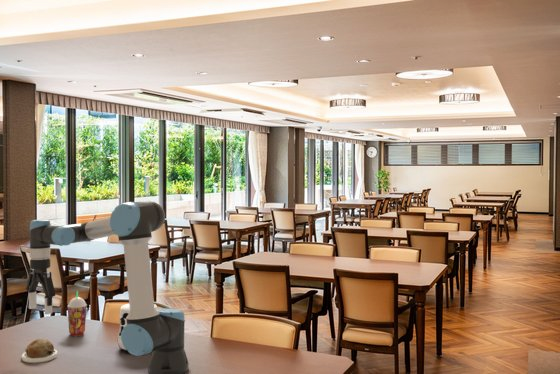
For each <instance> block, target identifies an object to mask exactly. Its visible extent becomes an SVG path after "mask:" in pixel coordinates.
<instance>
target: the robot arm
mask: <svg viewBox="0 0 560 374" xmlns="http://www.w3.org/2000/svg"><path fill="white" fill-rule="evenodd" d="M165 220H166V213H165V210H164V208H163V207H162V206H161V205H160V204H159V203H158V202H156V201H151V200H147V201H128V202H123V203H120V204H118V205H116V207H115V208H114V209H113V210H112V212H111V213H110V216H107V217H104V218H99V219H95V220H91V221H87V222H82V223H74V224H73V223H72V224H63V225H62V224H61V225H51V221H50V220H49V219H33V220H31V221H30V223H29V231H28V232H29V258H30V259H29V273H28V279H27V284H26V286H25V287H26V288H25V290H26V291H27V292H28V309H29V310H31V309H32V310H33V309H37V307H38V306H37V292H38V291H37V288H38V285H39V284H40V285H41V287H42V289H43V292H44V297H43V298H44V315H50V314H51V315H52V314H53V298H54V297H56V290H55V286H54V283H53V282H54V281H53V278H52V271H48V269H50V268H51V258H50V257H51V251H52V249H51V245H53V246H61V247H62V246H69V245H71V244H75V243H84V242H91V241H94V240H97V239H98V240H99V239H102V238H107V237H111V236H115V235H116V236H117V238H118V242H119V243H120V244H121V245H122V246H123V252H124V254H123V255H124V263H125V272H126V273H125V274H126V284H127V294H128V295H127V296H128V304H129V305H130V313H129V314H128V316H127V317H126V320H127V325H126V326H125V327H124V328H123V330H122V332H121V340H122V343H123V346H124V347H125V349H126V350H128V351H127V352H128V353H129V354H131V355H134V356H135V357H136V356H137V357H139V356H143V355H149V354H150V353H151V357H150V359H149V362H148V365H147V372H148V373H149V374H185V373H187V372H188V371H189V369H190V368H189V359H188V357H187V353H186V350H185V322H186V320H185V312H183V311H182V310H181V309H176V308H157V309H155V308H154V304H155V300H154V289H153V280H152V279H153V278H152V269H151V259H150V258H151V257H150V250H149V249H150V248H149V242H150V240H152V238H153V237H152V236H153V235H152V233H153V232H156V231H158V230H159V229H161V228H162V226H163V225H164V223H165Z"/></svg>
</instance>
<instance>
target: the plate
mask: <svg viewBox="0 0 560 374" xmlns="http://www.w3.org/2000/svg"><path fill="white" fill-rule="evenodd" d="M26 354H27V353H26V352H25V351H24V352H22V355H21V361H23V362H25V363H31V364H35V363H36V364H38V363H44V362H45V363H46V362H49V361H52V360H54V359H56V358H57V357H58V350H57V349H55V348H54V352H53V353H52V354H51V355H49V356H47V357H43V358H30V357H28V356H27V355H26Z"/></svg>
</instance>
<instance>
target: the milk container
mask: <svg viewBox="0 0 560 374" xmlns="http://www.w3.org/2000/svg"><path fill="white" fill-rule="evenodd" d="M154 308H155V309H158V305H157V304H155V303H154ZM129 313H130V305H129V303H125V304H123V305H121V307H120V308H119V330H118V333H117V339H116V340H117V344H118V345H117V346H118V347H119V349H121V350H122V351H124V352H128V350H126V349H125V347H124V346H123V343H122V340H121V332H122V330H123V328H124V327H125V326H126V325H127V320H126V317H127V316H128V314H129Z"/></svg>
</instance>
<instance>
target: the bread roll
mask: <svg viewBox="0 0 560 374" xmlns="http://www.w3.org/2000/svg"><path fill="white" fill-rule="evenodd" d="M26 346H27V347H26V348H25V350H24V353H25V352H26V353H27V354H26V355H27V356H28V357H30V358H43V357H47V356H49V355H51V354H52V353H53V352H54V349H55V347H54V344H53V343H52V342H51V341H50V340H49V339H47V338H46V339H44V338H38V339H35V340H33V341H32V342H30V343H29V344H28V345H26Z"/></svg>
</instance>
